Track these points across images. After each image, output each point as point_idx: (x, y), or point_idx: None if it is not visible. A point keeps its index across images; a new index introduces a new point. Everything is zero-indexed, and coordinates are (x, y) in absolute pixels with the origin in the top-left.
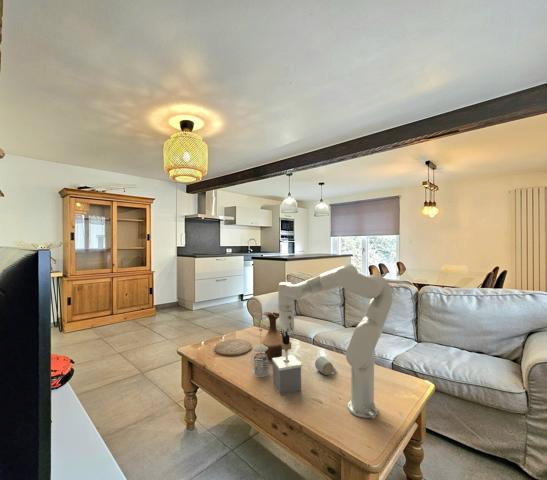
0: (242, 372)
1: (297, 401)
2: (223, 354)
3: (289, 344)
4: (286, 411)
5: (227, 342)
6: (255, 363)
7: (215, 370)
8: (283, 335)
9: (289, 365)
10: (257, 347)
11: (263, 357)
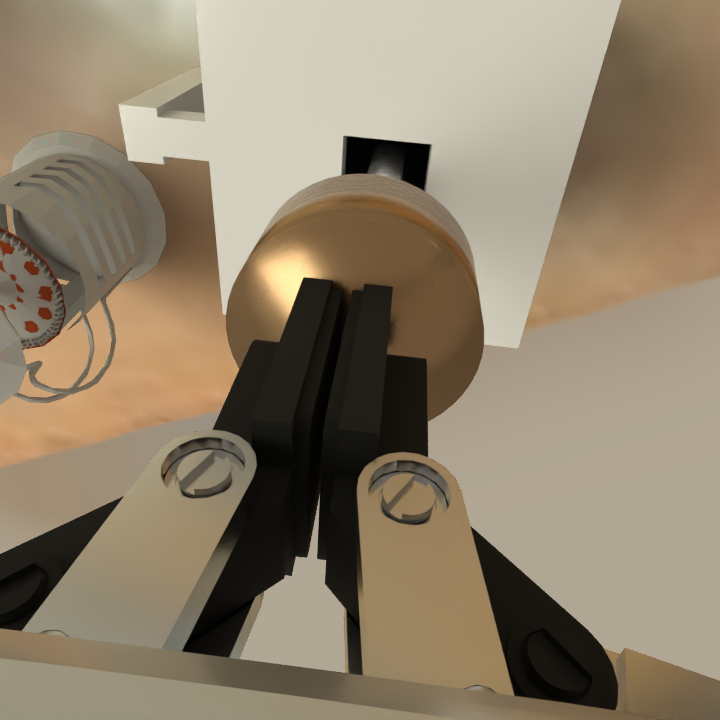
0: (68, 336)
1: (657, 118)
2: None
3: (470, 316)
4: (697, 262)
5: None
6: (70, 318)
7: (25, 458)
8: (291, 556)
9: (527, 207)
10: None
11: (31, 275)
